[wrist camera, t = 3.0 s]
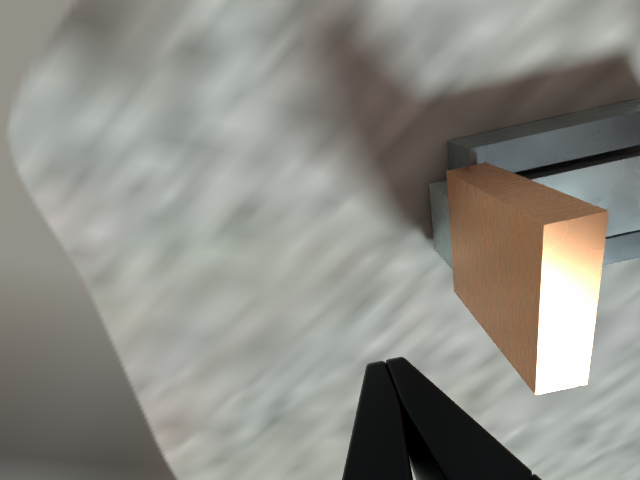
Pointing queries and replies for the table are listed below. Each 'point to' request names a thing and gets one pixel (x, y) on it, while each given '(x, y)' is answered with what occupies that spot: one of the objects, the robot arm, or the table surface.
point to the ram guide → (559, 151)
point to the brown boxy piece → (536, 254)
